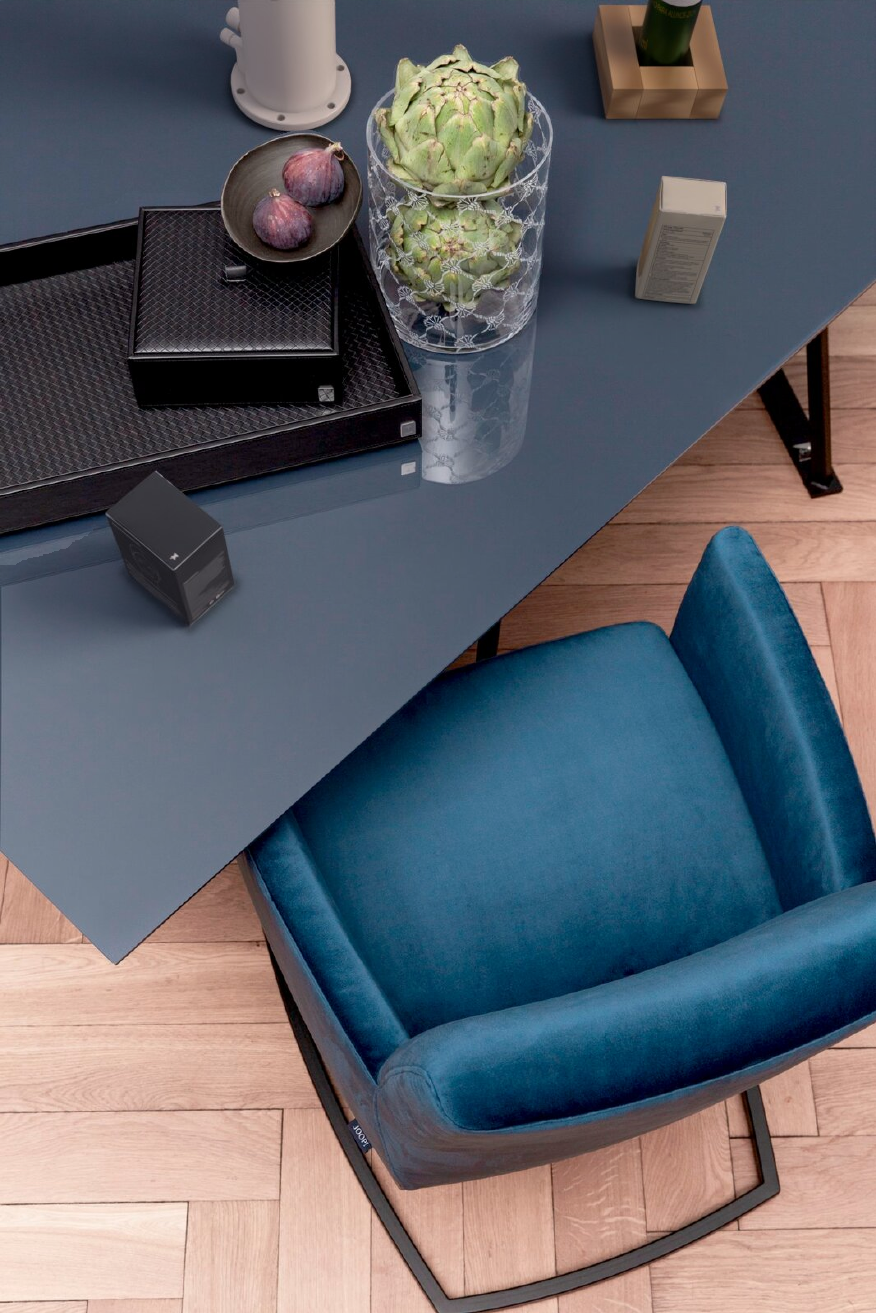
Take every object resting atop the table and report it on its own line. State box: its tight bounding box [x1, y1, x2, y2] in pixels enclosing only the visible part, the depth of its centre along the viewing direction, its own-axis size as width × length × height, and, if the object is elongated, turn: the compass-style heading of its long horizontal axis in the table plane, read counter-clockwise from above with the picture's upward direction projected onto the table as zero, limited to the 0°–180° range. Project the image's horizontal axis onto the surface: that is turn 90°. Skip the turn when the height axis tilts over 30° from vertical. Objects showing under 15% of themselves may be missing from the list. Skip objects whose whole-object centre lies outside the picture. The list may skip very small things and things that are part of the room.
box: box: [105, 470, 235, 627], centre depth 100 cm, size 8×6×11 cm
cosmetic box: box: [634, 175, 728, 305], centre depth 116 cm, size 6×4×12 cm
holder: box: [592, 4, 729, 120], centre depth 131 cm, size 12×12×4 cm
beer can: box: [636, 0, 703, 67], centre depth 127 cm, size 5×5×12 cm
